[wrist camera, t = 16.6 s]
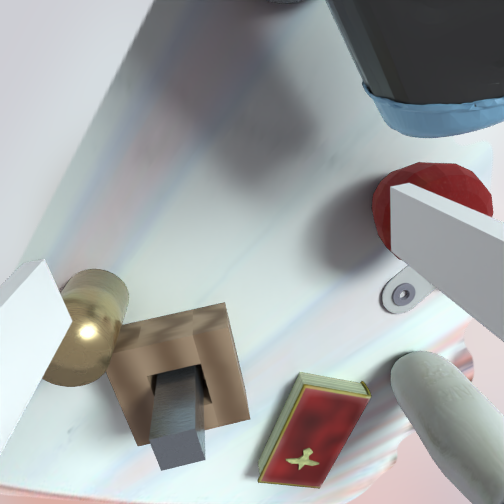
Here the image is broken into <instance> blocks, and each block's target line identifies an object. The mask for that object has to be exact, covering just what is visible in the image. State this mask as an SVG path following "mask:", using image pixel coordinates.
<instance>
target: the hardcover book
mask: <svg viewBox="0 0 504 504" xmlns="http://www.w3.org/2000/svg"><path fill="white" fill-rule="evenodd" d="M370 398H371V393H370V391H369V389H368V387H367V386H366V384H365V383H364V382H363V381H361V383H357V382H352V381H346V380H341V379H335V378H330V377H325V376H319V375H314V374H308V373H303V372H299V375H298V377H297V379H296V381H295V383H294V385H293V387H292V390H291V392H290V394H289V396H288V398H287V400H286V402H285V405H284V407H283V409H282V411H281V413H280V415H279V417H278V420H277V422H276V424H275V426H274V428H273V430H272V432H271V435H270V437H269V439H268V441H267V443H266V445H265V447H264V450H263V452H262V454H261V456H260V458H259V460H258V467H259V473H260V476H259V478H258V483H269V484H279V485H290V486H300V487H310V488H320V487H321V485H322V484H323V482H324V480H325V478H326V476H327V475H328V473H329V471H330V469H331V468H332V466H333V464H334V462H335V461H336V459H337V457H338V455H339V453H340V452H341V450H342V448H343V446H344V445H345V443H346V441H347V439H348V437H349V436H350V434H351V432H352V430H353V429H354V427H355V425H356V423H357V421H358V420H359V418H360V416H361V414H362V413H363V411H364V409H365V407H366V405H367V404H368V402H369V400H370Z"/></svg>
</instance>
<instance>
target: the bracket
mask: <svg viewBox="0 0 504 504" xmlns="http://www.w3.org/2000/svg"><path fill="white" fill-rule="evenodd" d="M435 289H436V287H435V286H434V285H432V284H431V283H430V282H429V281H427V280H426V279H425V278H424V277H422V276H421V275H420V274H419V273H417V272H416V271H415V270H414V269H412V268H411V267H410V266H409V265H408V266H406V267H405V268H404V269H403V270H401V271H400V272H399V273H398V274H396V275H395V276H394V277H393V278H392V279H391V280H390V281H389V282H388V283H387V284H386V286H385V288H384V290H383V293H382V302H383V305H384V307H385V308H386V309H387V310H388V311H390V312H392V313H395V314H401V313H405V312H408V311H410V310H411V309H413V308H414V307H415V306H416V305H417V304H418V303H420V302H421V301H422V300H423V299H424V298H425V297H426V296H428V295H429V294H430V293H431V292H432V291H433V290H435ZM404 290H407V294H406V295H405V296H404V297H402V298H400V293H401V292H402V291H404Z"/></svg>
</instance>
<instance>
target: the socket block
mask: <svg viewBox="0 0 504 504" xmlns="http://www.w3.org/2000/svg"><path fill="white" fill-rule="evenodd" d="M197 364H200V366H201V369H202V373H203V394H204V429H205V430H208V429H212V428H216V427H220V426H224V425H228V424H233V423H237V422H241V421H245V420H249V419H250V415H249V409H248V403H247V397H246V391H245V386H244V382H243V378H242V373H241V369H240V365H239V361H238V356H237V352H236V348H235V343H234V339H233V335H232V331H231V326H230V322H229V318H228V313H227V309H226V305H225V303H220V304H216V305H211V306H207V307H202V308H197V309H193V310H188V311H184V312H179V313H175V314H170V315H166V316H161V317H157V318H152V319H148V320H143V321H139V322H134V323H130V324H125V325H122V326H121V329H120V332H119V335H118V338H117V341H116V345H115V348H114V351H113V354H112V357H111V360H110V364H109V366H108V368H107V370H106V373H107V376H108V378H109V380H110V383H111V385H112V387H113V390H114V392H115V394H116V397H117V399H118V401H119V404H120V406H121V408H122V411H123V413H124V415H125V418H126V420H127V422H128V425H129V427H130V429H131V432H132V434H133V436H134V439H135V441H136V443H137V446H142V445H146V444H150V441H149V435H150V427H151V420H152V412H153V405H154V397H155V390H156V382H157V375H158V373H162V372H167V371H171V370H175V369H180V368H184V367H188V366H193V365H197Z"/></svg>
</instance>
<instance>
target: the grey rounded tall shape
mask: <svg viewBox="0 0 504 504" xmlns="http://www.w3.org/2000/svg"><path fill="white" fill-rule="evenodd" d="M391 386H392V390H393V392H394V395H395V397H396V400H397V402H398V404H399V405H400V407H401V409H402V410H403V412H404V414H405V415H406V417H407V418H408V420H409V421H410V423H411V424H412V426H413V427H414V429H415V431H416V432H417V434H418V435H419V437H420V439H421V441H422V442H423V444H424V445H425V447H426V449H427V451H428V452H429V454H430V456H431V457H432V459H433V460H434V462H435V463H436V465H437V466H438V467H439V469H440V470H441V471H442V473H443V474H444V475H445V476H446V477H447V478H448V479H449V480H450V481H451V482H452V483H453V484H454V485H455V487H457V489H458V490H459V491H461V493H462V494H463V495H464V496H465V497H466V498H467V499H468V500H469V501H470V502H471V503H472V504H504V415H503V414H502V413H501V412H500V411H499V410H498V409H497V408H496V407H495V406H494V405H493V404H492V403H491V402H490V401H489V400H488V399H487V398H486V397H485V396H484V395H483V394H482V393H481V392H480V391H479V390H478V389H477V388H476V387H475V386H474V385H473V384H472V383H471V382H470V381H469V380H468V379H467V378H466V376H465V375H464V374H463V373H462V372H461V371H460V370H459V369H458V368H457V367H456V366H455V365H453V364H452V363H451V362H450V361H448V360H447V359H445V358H444V357H442V356H440V355H438V354H435V353H432V352H427V351H415V352H411V353H409V354H407V355H405V356H403V357H401V358H399V359H398V360H397V361H396V362H395V364H394V366H393V367H392V370H391Z"/></svg>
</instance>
